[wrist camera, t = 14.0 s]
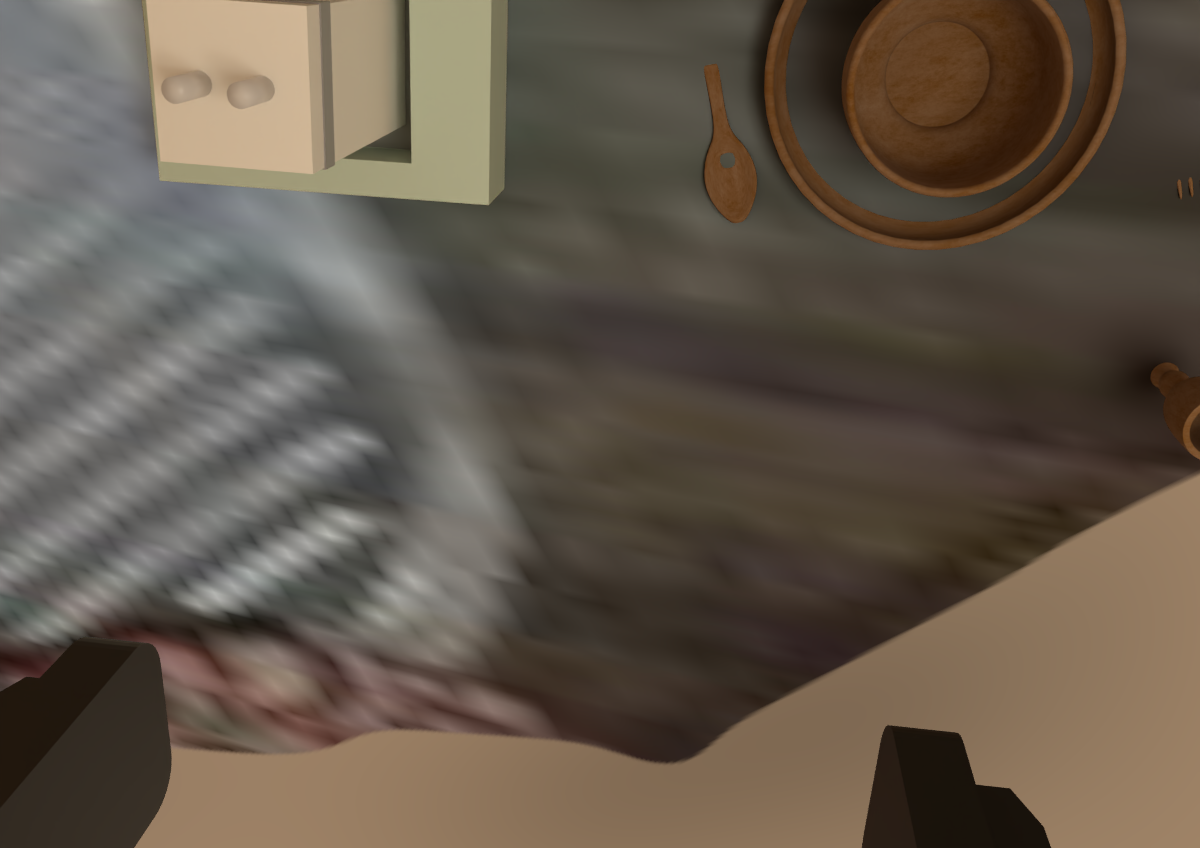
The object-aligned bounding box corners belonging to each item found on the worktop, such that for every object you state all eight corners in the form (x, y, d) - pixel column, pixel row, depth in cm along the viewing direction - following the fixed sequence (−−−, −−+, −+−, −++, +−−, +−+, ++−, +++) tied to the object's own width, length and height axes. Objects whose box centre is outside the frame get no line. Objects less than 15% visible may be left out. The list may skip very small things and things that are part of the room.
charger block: (406, -9, 40) (286, 7, 29) (406, 125, 41) (294, 187, 31) (278, -18, 40) (113, -6, 29) (284, 116, 42) (132, 172, 31)
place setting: (1199, -179, 36) (1281, -202, 31) (1215, 395, 43) (1284, 458, 38) (662, -49, 39) (652, -49, 34) (759, 466, 46) (763, 534, 41)
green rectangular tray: (509, -74, 39) (492, -75, 36) (504, 188, 43) (488, 205, 40) (173, -92, 40) (131, -95, 37) (196, 165, 43) (159, 180, 41)
